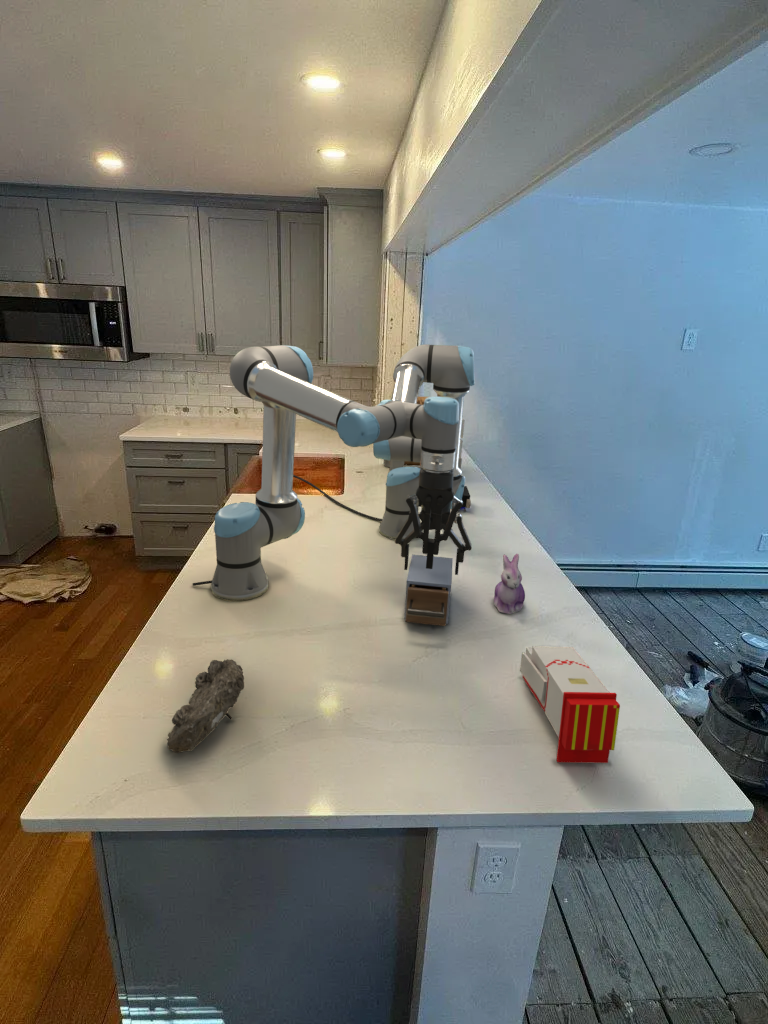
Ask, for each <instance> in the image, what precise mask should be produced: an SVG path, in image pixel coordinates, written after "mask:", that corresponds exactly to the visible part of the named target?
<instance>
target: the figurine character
mask: <svg viewBox="0 0 768 1024" xmlns="http://www.w3.org/2000/svg"><path fill="white" fill-rule="evenodd" d="M461 500H462V501H463V506H462V507H461V509H460V510H463V511H464V513H466V512H467V509H470V508H471V505H472V504H471V501H472V500H471V494H470V491H469V488H468V486H467V485H464V490H463V495H462V499H461ZM466 508H467V509H466Z"/></svg>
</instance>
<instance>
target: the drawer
mask: <svg viewBox="0 0 768 1024" xmlns="http://www.w3.org/2000/svg"><path fill="white" fill-rule="evenodd" d="M448 594H449V591H446V587H436V586H425V585H415V584H412V587H408V593H407V609H406V620H405V623H413V624H422V625H423V624H424V625H433V626H441V627H446V625H447V624H446V616H447V605H448Z"/></svg>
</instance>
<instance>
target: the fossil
mask: <svg viewBox="0 0 768 1024" xmlns="http://www.w3.org/2000/svg"><path fill="white" fill-rule="evenodd" d="M243 670H244V669H243V667H242V665H240V664H237V662H236V661H235V660H234V659H232V658H231V659H227V658H226V659H224V660H223V661H222V660H217V659H212V660H211V661H210V663H209V665H208V666H207V671H201V672H199V673H198V674H197V675H196V676H195V680H194V684H195V685H194V687H195V689H194V690H193V693H192V694H191V697H190V698H189V700H188V704H184V705H182V706H181V707H180V709H177V710H176V711H175V713H174V715H173V716H172V718H171V723H172V724H173V727H172V730H171V731H170V732H168V734H167V738H166V741H167V742H166V745H167V749H168V750H169V751H173V752H174V753H176V754H178V753H182V752H188V751H189V752H192V751H193V750H195V748H196V747H197V746H199V744H200V743H201V742H203V741H204V740H205V739H206V738H207V737H208V736H209V735H210V734H211V733H212V732H214V730H215V729H217V727H218V726H219V724H220V722H221V721H222V720H223V719H224V718H225V716H226V717H227V719H229V720H233V717H232V715H230V714H229V710H230V709H231V708H234V706H235V704H236V703H237V702H238V699H239V697H240V695H241V693H242V691H243V690H245V689H244V688H245V675H244V671H243Z"/></svg>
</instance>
